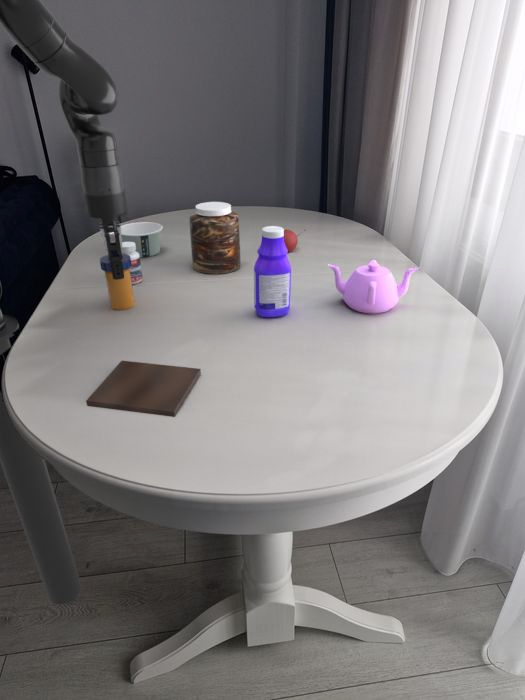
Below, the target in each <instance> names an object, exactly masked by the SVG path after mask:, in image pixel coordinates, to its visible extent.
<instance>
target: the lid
mask: <svg viewBox="0 0 525 700" xmlns="http://www.w3.org/2000/svg"><path fill="white" fill-rule="evenodd" d="M118 254H119V253H116V254H111V255H118ZM122 256H123V260H122V265H123V271H124V270H127V269H129V268H130V267H131V266H132V265H131V259H130V256H129V255H127V254H122ZM108 257H109V255H108V254H106V255H103V256H101V257H100V258H99V264H100V269H101V271H103V272H105V271H106V272H112V269H111V263H110V260H109V259H108Z"/></svg>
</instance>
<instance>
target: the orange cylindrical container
mask: <svg viewBox="0 0 525 700" xmlns="http://www.w3.org/2000/svg"><path fill="white" fill-rule="evenodd" d="M104 277H105V282H106V288H107V293H108V299H109V305H110V308H111V309H113V310H115V311H116V310H117V311H121V310H129V309H131V308H133V307H134V306H135V305H136V303H135V296H134V295H135V294H134V288H133V284H132V281H131V275H130V268H129V269H127V270H124V278H123V279H117V280H115V279H113V275H112V272H106V271H104Z"/></svg>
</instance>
